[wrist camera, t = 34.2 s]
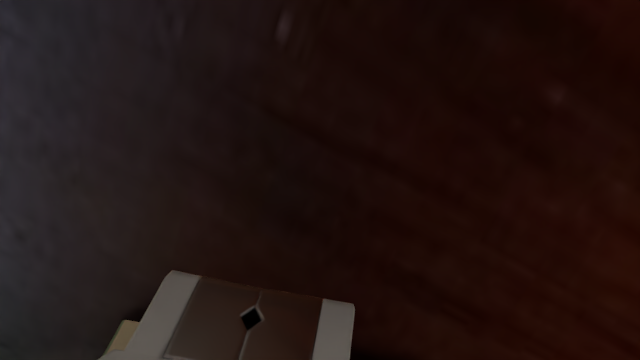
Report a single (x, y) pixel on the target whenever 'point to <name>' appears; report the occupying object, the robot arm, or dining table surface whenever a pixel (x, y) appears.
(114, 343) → the drawer
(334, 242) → the dining table surface
